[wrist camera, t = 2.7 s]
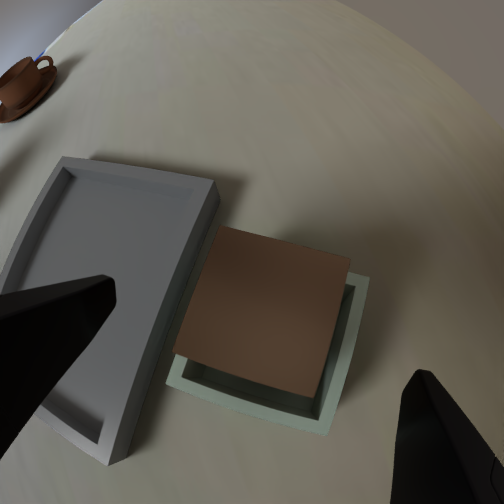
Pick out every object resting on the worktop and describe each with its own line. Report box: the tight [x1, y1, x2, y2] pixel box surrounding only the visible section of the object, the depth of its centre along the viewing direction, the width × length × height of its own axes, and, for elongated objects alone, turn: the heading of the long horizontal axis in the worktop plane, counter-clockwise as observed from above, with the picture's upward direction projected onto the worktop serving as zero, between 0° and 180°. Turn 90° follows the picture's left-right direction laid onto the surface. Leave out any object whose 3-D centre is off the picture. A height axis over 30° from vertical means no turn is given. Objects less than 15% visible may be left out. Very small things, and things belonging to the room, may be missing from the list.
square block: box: [172, 225, 351, 398], centre depth 13 cm, size 4×4×10 cm
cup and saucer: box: [0, 56, 57, 123], centre depth 30 cm, size 12×12×6 cm
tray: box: [0, 156, 221, 466], centre depth 19 cm, size 19×15×2 cm
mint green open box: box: [166, 272, 370, 436], centre depth 16 cm, size 8×8×4 cm
